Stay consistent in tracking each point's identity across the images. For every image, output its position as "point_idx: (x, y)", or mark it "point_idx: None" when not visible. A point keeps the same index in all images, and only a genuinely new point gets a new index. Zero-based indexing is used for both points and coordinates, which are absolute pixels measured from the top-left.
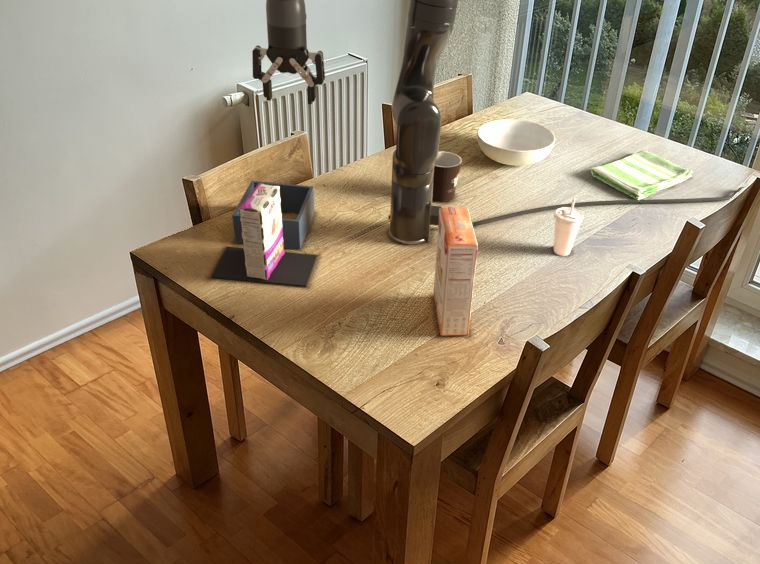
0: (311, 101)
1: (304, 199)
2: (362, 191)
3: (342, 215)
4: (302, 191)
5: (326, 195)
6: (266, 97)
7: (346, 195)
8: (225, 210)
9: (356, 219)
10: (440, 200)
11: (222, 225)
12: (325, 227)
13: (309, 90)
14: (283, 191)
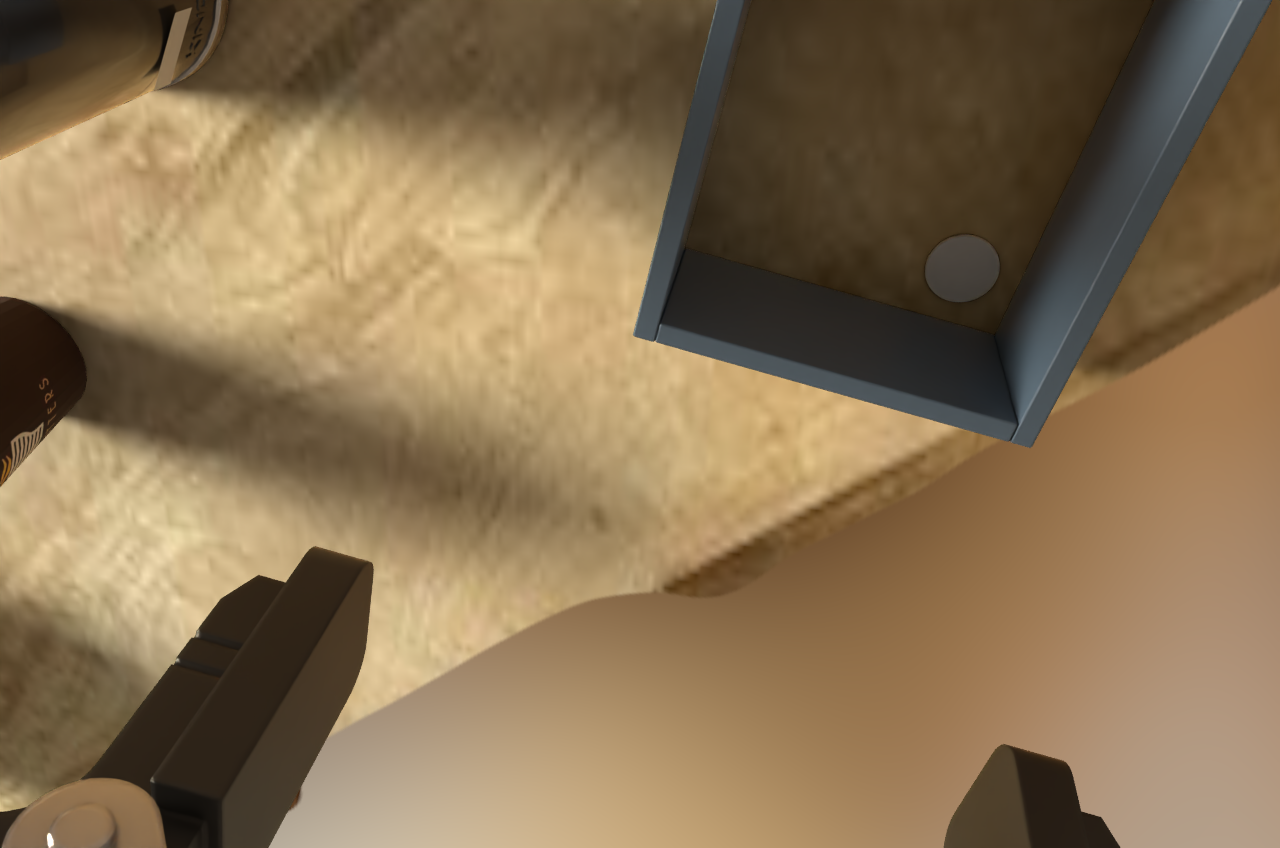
0: (296, 586)
1: (705, 294)
2: (408, 445)
3: (505, 219)
4: (709, 322)
5: (590, 430)
6: (1077, 796)
7: (487, 418)
8: (1181, 340)
9: (427, 167)
10: (8, 303)
11: (1245, 167)
12: (604, 89)
13: (212, 730)
14: (830, 349)
